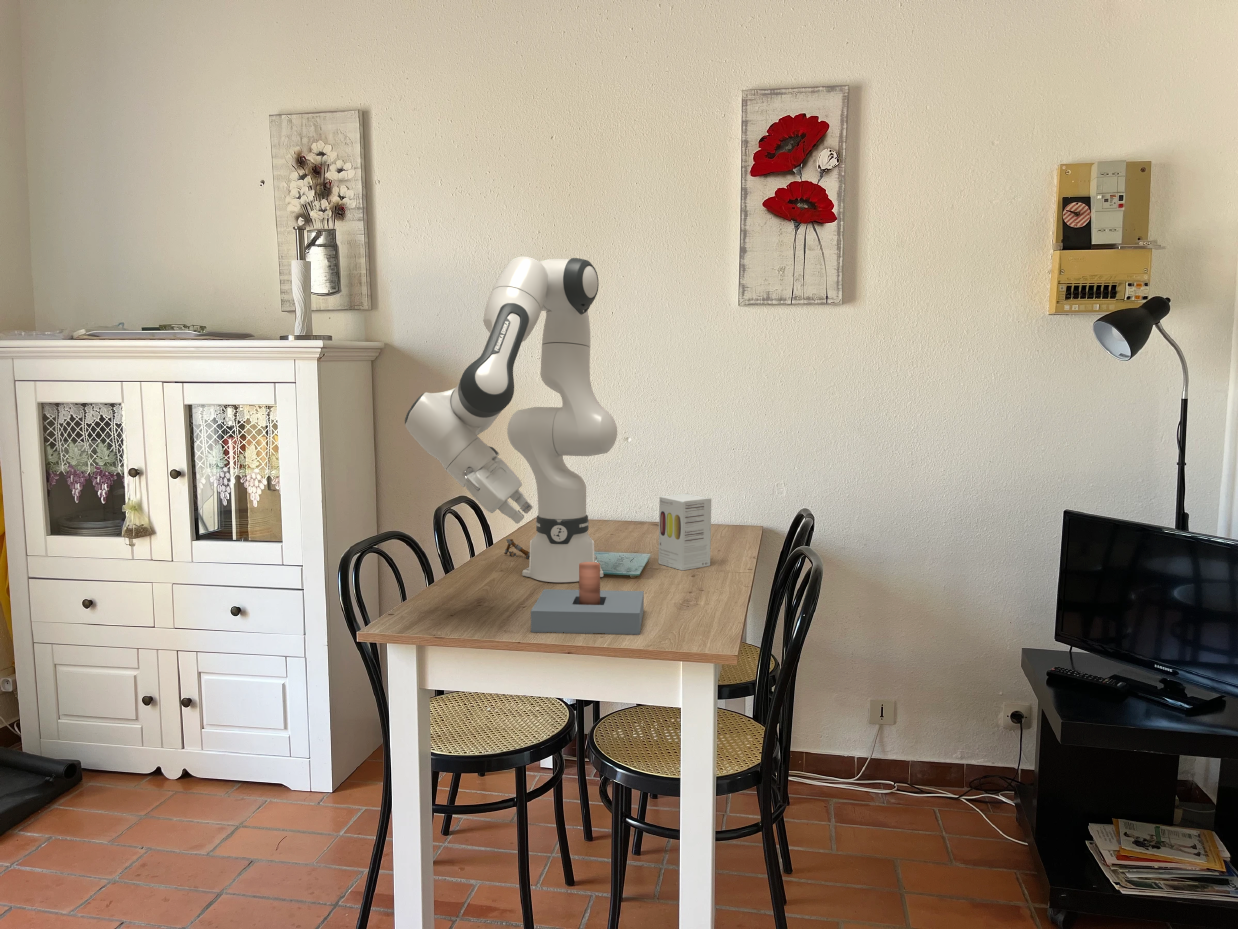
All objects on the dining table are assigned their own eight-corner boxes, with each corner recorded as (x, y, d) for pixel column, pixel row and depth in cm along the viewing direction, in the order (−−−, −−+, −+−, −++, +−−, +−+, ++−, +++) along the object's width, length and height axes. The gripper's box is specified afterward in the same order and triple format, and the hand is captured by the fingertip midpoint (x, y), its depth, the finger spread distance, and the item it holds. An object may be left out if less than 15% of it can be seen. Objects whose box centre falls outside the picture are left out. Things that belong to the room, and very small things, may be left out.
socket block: (544, 608, 185) (544, 589, 185) (643, 610, 184) (643, 591, 183) (530, 632, 169) (530, 611, 169) (639, 634, 168) (639, 613, 168)
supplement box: (657, 563, 226) (657, 495, 224) (685, 559, 231) (686, 492, 230) (682, 571, 218) (683, 500, 216) (711, 565, 224) (712, 497, 222)
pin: (580, 612, 179) (580, 561, 178) (601, 612, 178) (600, 562, 177) (578, 618, 175) (577, 566, 174) (599, 618, 174) (599, 566, 173)
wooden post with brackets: (504, 551, 237) (509, 536, 236) (528, 566, 234) (533, 551, 233) (500, 552, 235) (505, 537, 234) (523, 568, 232) (529, 552, 231)
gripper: (472, 460, 164) (527, 514, 165) (495, 446, 184) (545, 494, 185) (448, 485, 165) (503, 539, 166) (474, 468, 185) (523, 516, 186)
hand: (525, 515), depth 176 cm, fingers open, 8 cm apart
